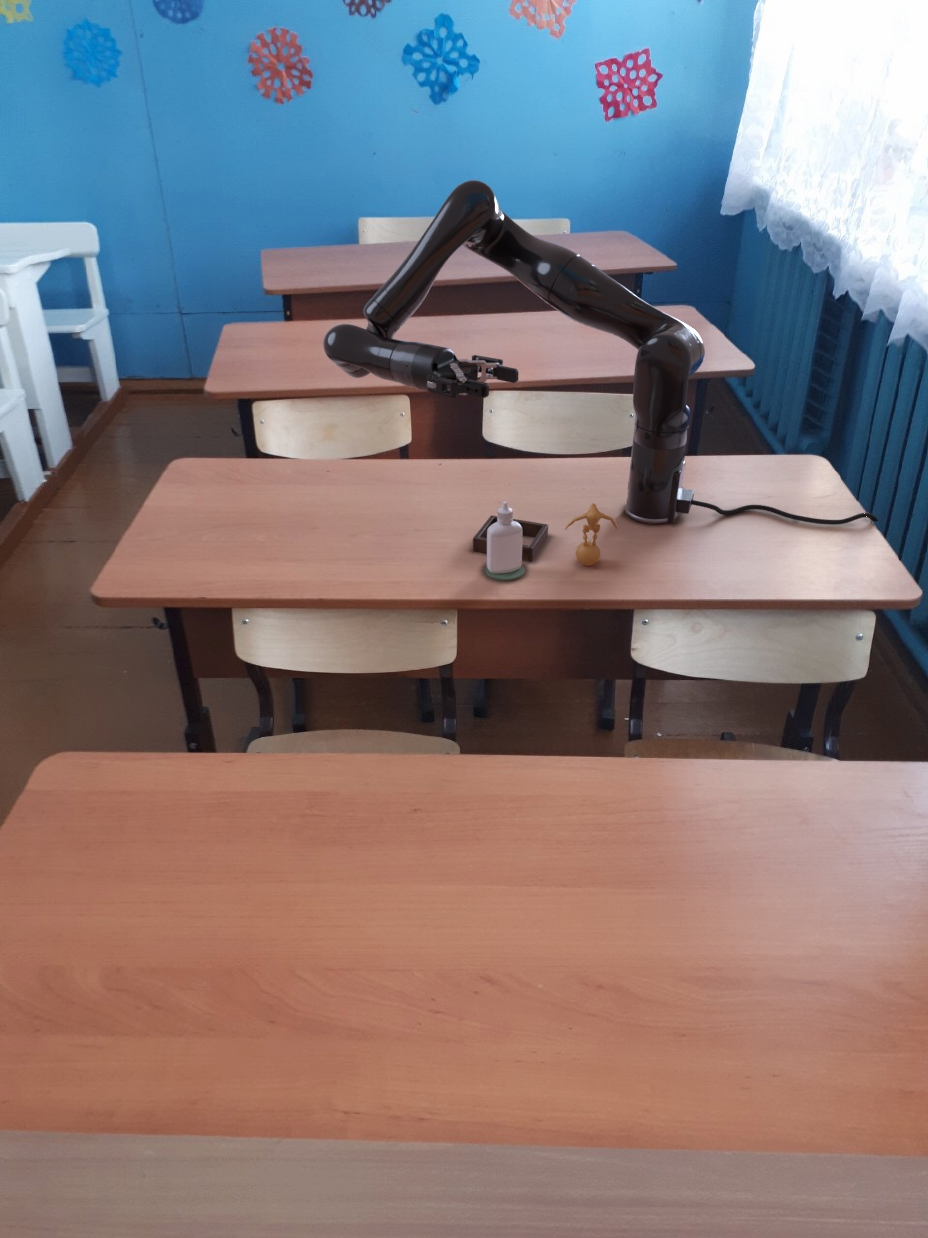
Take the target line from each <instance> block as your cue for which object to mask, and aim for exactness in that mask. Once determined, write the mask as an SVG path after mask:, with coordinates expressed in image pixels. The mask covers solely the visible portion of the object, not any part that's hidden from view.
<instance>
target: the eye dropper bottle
mask: <svg viewBox="0 0 928 1238" xmlns="http://www.w3.org/2000/svg"><path fill="white" fill-rule="evenodd" d="M496 511H497V512H496V513H497V514H496V516H497V522H496V523H494V524H492V525H491V526H490V527H489V528H488V529H487V553H486V566H487V568H488V569H489V571H490V572H491V573H494V574H502V573H509V572H513V571H516V570H518V569H520V568H521V566H522V565H523V560H522V544H523V535H522V527H521V525H520V524H519V523H518V522H516V521H513V519H514V518H513V517H514V516H513V513H514V511H513V509H512V508H511V507H509V503H508V501H505V500H504V501H502V505H501V507H499V508H498V509H497V510H496Z"/></svg>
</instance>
